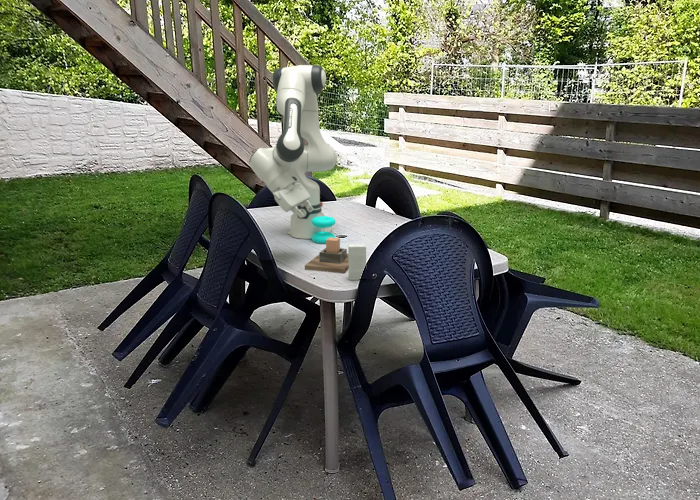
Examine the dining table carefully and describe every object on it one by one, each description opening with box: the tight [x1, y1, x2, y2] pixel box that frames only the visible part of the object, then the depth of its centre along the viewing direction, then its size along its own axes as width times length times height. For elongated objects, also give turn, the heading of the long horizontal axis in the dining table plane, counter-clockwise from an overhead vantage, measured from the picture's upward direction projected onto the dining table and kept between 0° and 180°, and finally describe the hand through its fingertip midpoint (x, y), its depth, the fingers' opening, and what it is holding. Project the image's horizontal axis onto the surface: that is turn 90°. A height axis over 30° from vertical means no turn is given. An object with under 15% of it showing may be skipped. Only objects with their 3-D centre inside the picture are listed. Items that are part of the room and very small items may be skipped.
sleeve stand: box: [304, 247, 349, 274], centre depth 238 cm, size 20×15×5 cm
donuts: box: [311, 215, 336, 244], centre depth 269 cm, size 10×10×10 cm
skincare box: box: [347, 243, 367, 281], centre depth 220 cm, size 6×4×12 cm
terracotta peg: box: [325, 237, 341, 253], centre depth 237 cm, size 4×4×8 cm
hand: (307, 213), depth 237 cm, fingers open, 8 cm apart
